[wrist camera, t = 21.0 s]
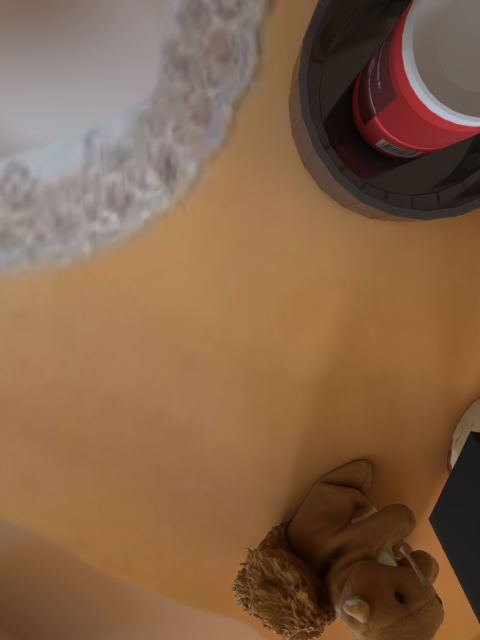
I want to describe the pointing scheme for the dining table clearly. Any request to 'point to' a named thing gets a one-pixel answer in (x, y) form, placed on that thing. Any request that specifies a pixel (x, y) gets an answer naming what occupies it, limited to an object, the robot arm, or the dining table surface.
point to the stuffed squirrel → (342, 568)
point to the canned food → (422, 81)
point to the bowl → (344, 138)
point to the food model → (463, 433)
